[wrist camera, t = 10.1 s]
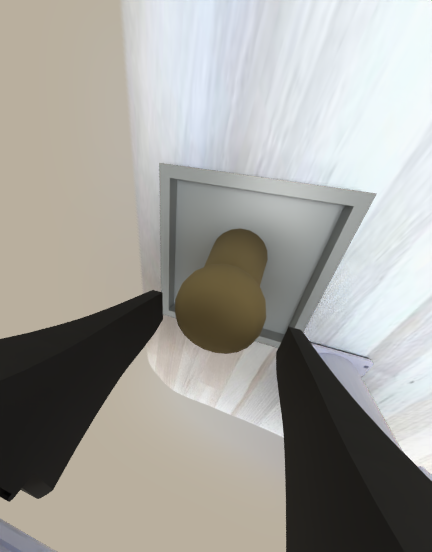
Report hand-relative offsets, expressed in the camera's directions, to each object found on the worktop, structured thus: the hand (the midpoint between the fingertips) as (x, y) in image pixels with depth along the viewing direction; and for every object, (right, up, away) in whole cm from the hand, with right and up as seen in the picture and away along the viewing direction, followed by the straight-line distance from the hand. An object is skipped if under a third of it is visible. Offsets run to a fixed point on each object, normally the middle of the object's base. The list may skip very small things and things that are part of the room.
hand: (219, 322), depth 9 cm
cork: (+2, +5, +8) cm, 10 cm away
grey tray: (+2, +4, +9) cm, 10 cm away
